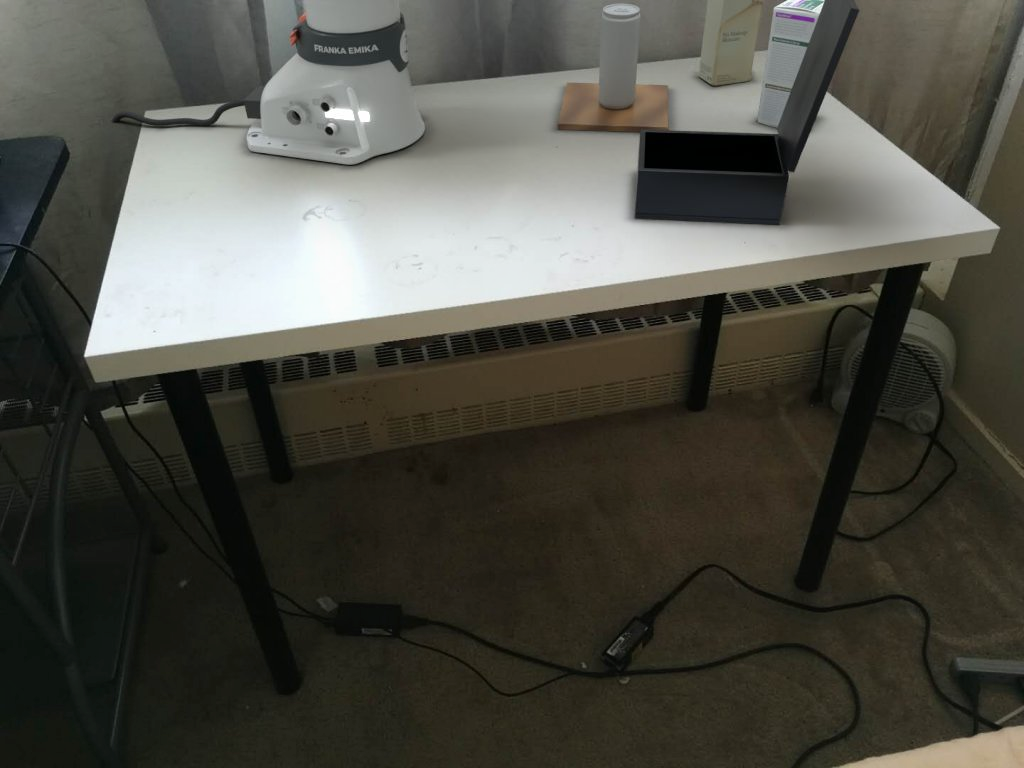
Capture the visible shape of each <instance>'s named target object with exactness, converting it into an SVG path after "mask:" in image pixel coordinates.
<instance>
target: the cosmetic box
mask: <svg viewBox="0 0 1024 768" xmlns="http://www.w3.org/2000/svg"><path fill="white" fill-rule="evenodd" d="M763 2H764V0H707V3H706V11H705V19H704V28H703V36H702V44H701V52H700V61H699V67H698V68H699V69H698V77H699V78H701V79H702V80H704V81H705V82H706V83H708V84H709V85H711V86H713V87H714V86H716V87H717V86H723V85H729V84H736V83H744V82H749V81H751V78H752V71H753V65H754V59H755V51H756V46H757V41H758V40H757V39H758V33H759V27H760V21H761V15H762V8H763Z"/></svg>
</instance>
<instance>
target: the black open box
mask: <svg viewBox="0 0 1024 768" xmlns="http://www.w3.org/2000/svg"><path fill="white" fill-rule="evenodd" d="M638 139H639V140H638V141H639V142H638V153H637V168H636V182H635V183H636V184H635V201H634V219H640V220H667V221H686V222H687V221H688V222H709V223H711V222H712V223H729V224H730V223H732V224H735V223H736V224H752V225H753V224H757V225H775V226H776V225H777V226H779V225H781V219H782V215H783V210H784V206H785V200H786V196H787V190H788V185H789V181H790V173H789V171H787V170H786V165H785V161H784V157H783V153H782V149H781V144H780V140H779V136H778V133H763V132H762V133H761V132H732V131H702V130H701V131H699V130H697V131H696V130H674V129H673V130H672V129H671V130H669V129H668V130H643V129H641V130H640V132H639V138H638Z"/></svg>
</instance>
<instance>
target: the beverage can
mask: <svg viewBox="0 0 1024 768" xmlns="http://www.w3.org/2000/svg"><path fill="white" fill-rule="evenodd" d="M640 11H641V9H640V7H638V6H637V5H634V4H631V3H612V4H608V5H605V6H604V7H603V9H602V14H601V23H600V45H599V46H600V47H599V72H598V73H599V74H598V83H599V94H598V100H599V102H600V103H601V105H602V106H604V107H605V108H608V109H625V108H628V107H630V106H631V105H632V104H633V103H634V101H635V90H636V84H637V74H638V61H639V60H638V59H639V46H640V45H639V44H640V29H641V13H640Z"/></svg>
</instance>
